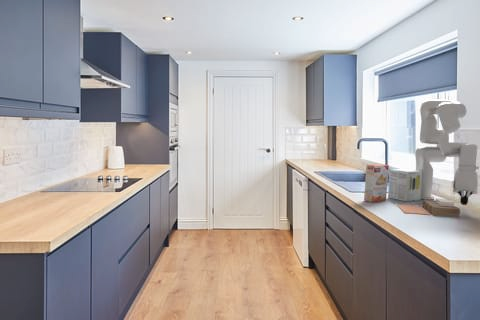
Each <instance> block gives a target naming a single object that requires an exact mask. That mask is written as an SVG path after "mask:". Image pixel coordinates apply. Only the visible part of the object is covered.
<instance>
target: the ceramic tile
mask: <svg viewBox="0 0 480 320" xmlns="http://www.w3.org/2000/svg"><path fill="white" fill-rule="evenodd" d="M435 200H436V203H438V204H439V205H441V206H455V202H454V201H452V200H451V199H448V198H435Z"/></svg>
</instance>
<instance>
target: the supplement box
mask: <svg viewBox="0 0 480 320" xmlns="http://www.w3.org/2000/svg"><path fill="white" fill-rule="evenodd" d="M421 181H422V171H419V170H416V169H409V168H389V173H388V188H387V198H389V199H394V200H398V201H399V200H400V201H401V202H403V201H404V202H412V201H413V200H414V201H420V200H421V199H420V196H421ZM414 201H413V202H414Z"/></svg>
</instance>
